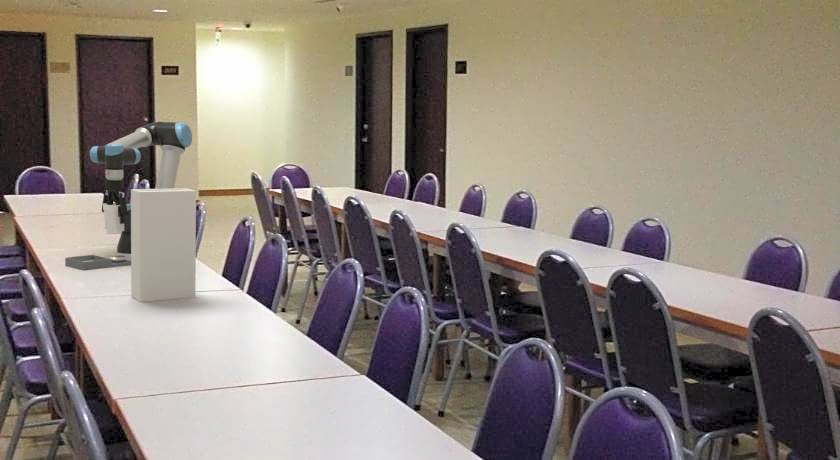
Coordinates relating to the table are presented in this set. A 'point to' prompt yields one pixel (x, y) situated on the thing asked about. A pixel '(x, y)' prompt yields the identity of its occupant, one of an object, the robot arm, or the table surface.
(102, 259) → the dark gray tray
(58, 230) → the table surface
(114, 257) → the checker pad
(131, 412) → the table surface
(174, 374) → the table surface
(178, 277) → the storage box
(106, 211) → the foam cup
